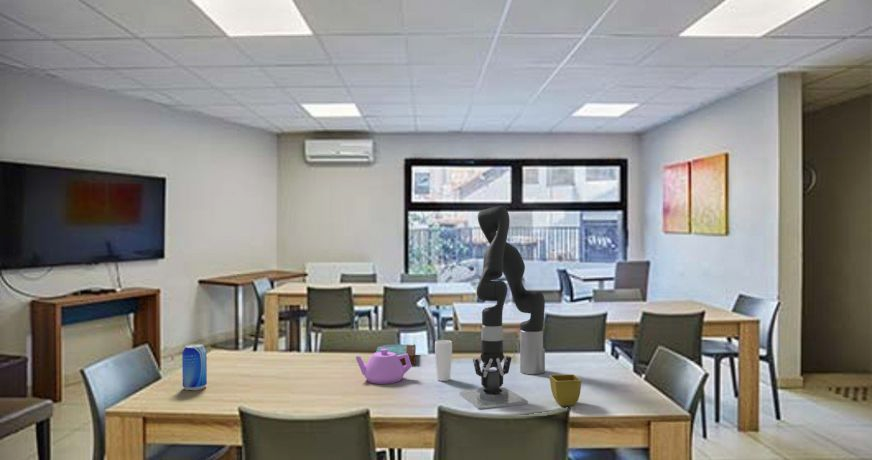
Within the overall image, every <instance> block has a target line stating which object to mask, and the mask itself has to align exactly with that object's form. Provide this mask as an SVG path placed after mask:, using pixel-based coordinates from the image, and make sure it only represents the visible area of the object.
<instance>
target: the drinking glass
mask: <svg viewBox="0 0 872 460" xmlns="http://www.w3.org/2000/svg"><path fill="white" fill-rule="evenodd" d="M434 355H435V357H434V358H435V368H436V380H437V381H439V382H448V381H450V380H451V374H452V373H451V371H452V360H453V359H452V357H453V342H452V340H450V339H448V340H447V339H438V340H435V342H434Z"/></svg>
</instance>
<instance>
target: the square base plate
mask: <svg viewBox="0 0 872 460" xmlns="http://www.w3.org/2000/svg"><path fill="white" fill-rule="evenodd" d="M459 395H460V396H461V397H463V398H464V399H465V400H466V401H467V402H468V403H470V404H471V405H472V404H473V405H472V406H473V407H474V408H476V409H477V408H478V409H477V410H483V409H485V410H486V409H491V408H492V409H493V408H502V407H503V408H504V407H511V406H519V405H528V403H529V401H528V400H527V399H526V398H523V396H520V394H517V393H516V392H515V391H512V390H511V389H509V388H508V387H506V386H504V387H502V386H501V387H500V392H498V393H487V392H485V388H484V387H483V386H482V387H478V388H477V389H475V390H474V389H473V390H464V391H459Z"/></svg>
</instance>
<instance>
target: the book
mask: <svg viewBox="0 0 872 460" xmlns="http://www.w3.org/2000/svg"><path fill="white" fill-rule="evenodd" d="M380 349H388V352H393V353H395V354H396V355H401V354H406V353H408V356H409V359H410V362H411V364H412V366H415V365H416V349H417V348H416V344H378V346H377V347H376V351H375V353H377V352H380ZM400 361H401V363H402V365H403V366H405V365H406V361H405V358H402V359H400Z"/></svg>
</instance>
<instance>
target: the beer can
mask: <svg viewBox="0 0 872 460" xmlns="http://www.w3.org/2000/svg"><path fill="white" fill-rule="evenodd" d="M181 353H182V356H181V358H182V359H181V360H182V367H181V368H182V387H183V388H184V390H185V391H188V390H194V391H199V390H202V389H205V388H206V386H207V383H208V380H207V379H208V378H207V375H208V374H207V373H208V372H207V371H208V369H207V349H206V348H205V347H204V344H203V343H192V344H190V343H189V344H186V345H185V346H184V348H183V351H182V352H181Z"/></svg>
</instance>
